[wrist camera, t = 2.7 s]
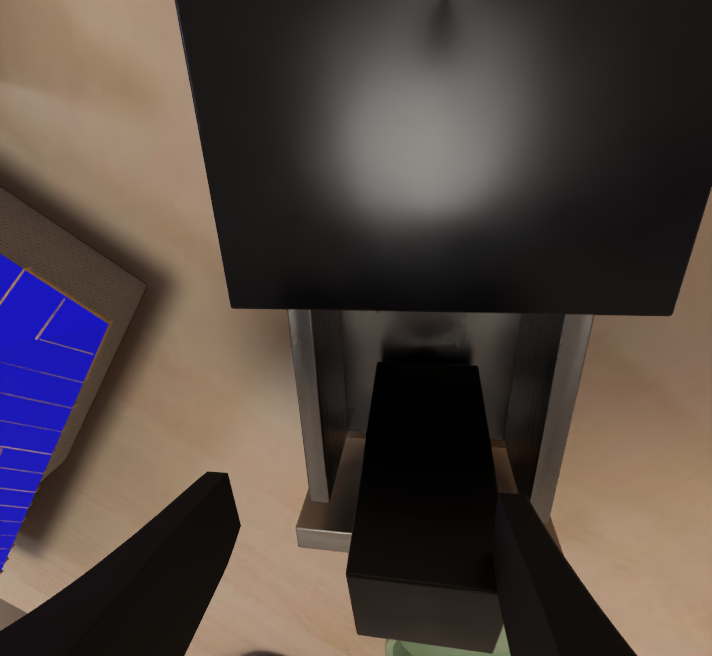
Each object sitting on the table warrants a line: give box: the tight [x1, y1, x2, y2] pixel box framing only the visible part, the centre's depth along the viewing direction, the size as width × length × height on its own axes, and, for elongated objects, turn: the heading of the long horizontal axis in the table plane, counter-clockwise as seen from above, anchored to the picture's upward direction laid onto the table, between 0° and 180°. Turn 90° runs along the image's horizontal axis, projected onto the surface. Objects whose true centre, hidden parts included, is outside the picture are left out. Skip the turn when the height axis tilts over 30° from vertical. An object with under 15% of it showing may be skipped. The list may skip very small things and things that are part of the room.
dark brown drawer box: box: [175, 0, 712, 316], centre depth 11 cm, size 14×12×8 cm
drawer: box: [287, 309, 594, 554], centre depth 17 cm, size 17×10×6 cm, turn 2°
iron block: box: [346, 362, 504, 654], centre depth 15 cm, size 4×4×8 cm
